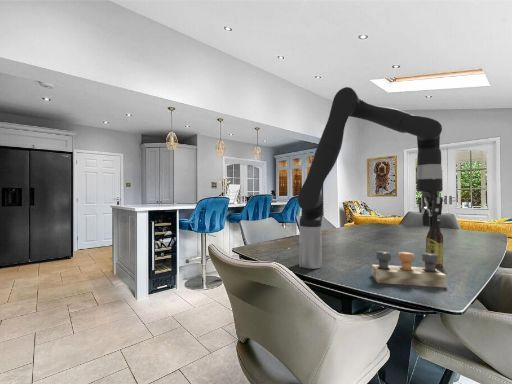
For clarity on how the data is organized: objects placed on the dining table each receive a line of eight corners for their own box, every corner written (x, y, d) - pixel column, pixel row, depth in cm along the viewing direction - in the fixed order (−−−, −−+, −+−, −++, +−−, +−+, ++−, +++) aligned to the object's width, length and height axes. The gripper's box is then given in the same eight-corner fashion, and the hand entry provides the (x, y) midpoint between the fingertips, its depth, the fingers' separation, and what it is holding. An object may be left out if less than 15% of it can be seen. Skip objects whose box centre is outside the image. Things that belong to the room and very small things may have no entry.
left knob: (377, 271, 91) (377, 253, 91) (374, 267, 96) (374, 250, 96) (392, 272, 90) (392, 254, 90) (388, 268, 95) (388, 251, 95)
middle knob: (401, 273, 90) (401, 254, 90) (396, 269, 94) (396, 251, 94) (416, 273, 89) (416, 255, 89) (411, 270, 93) (411, 252, 93)
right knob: (425, 274, 88) (425, 255, 88) (419, 270, 93) (419, 252, 93) (441, 275, 87) (441, 256, 87) (434, 271, 92) (434, 253, 92)
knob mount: (377, 282, 89) (377, 271, 89) (371, 274, 98) (371, 264, 98) (446, 287, 85) (446, 275, 85) (434, 278, 93) (433, 267, 94)
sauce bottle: (422, 263, 114) (422, 218, 114) (436, 263, 114) (436, 218, 114) (432, 267, 108) (431, 220, 108) (447, 268, 107) (446, 220, 108)
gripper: (409, 179, 98) (410, 224, 98) (425, 177, 84) (426, 229, 84) (432, 179, 96) (432, 224, 96) (452, 176, 82) (452, 229, 82)
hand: (429, 226), depth 90 cm, fingers open, 5 cm apart
